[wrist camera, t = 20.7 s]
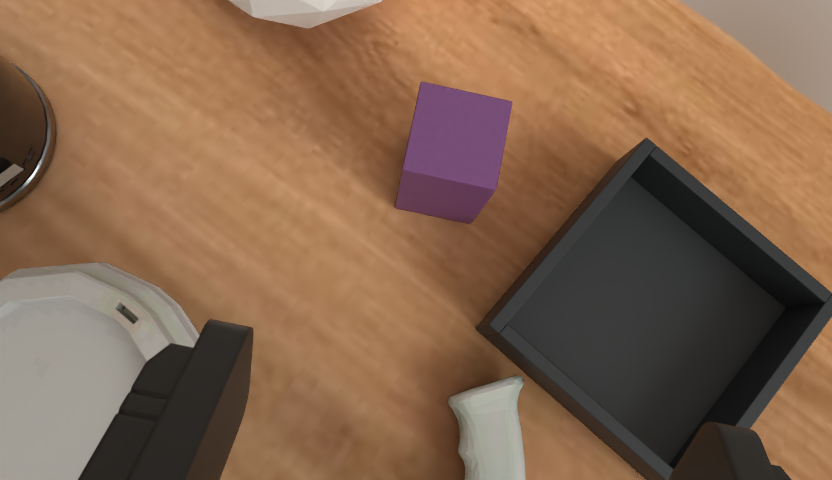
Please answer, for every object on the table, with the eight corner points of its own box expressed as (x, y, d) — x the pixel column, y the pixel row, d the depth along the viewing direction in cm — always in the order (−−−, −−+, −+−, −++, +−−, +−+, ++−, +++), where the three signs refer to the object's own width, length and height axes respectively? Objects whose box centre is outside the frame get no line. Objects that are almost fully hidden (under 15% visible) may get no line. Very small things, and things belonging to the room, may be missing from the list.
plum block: (470, 224, 40) (496, 190, 32) (394, 208, 40) (402, 170, 32) (484, 151, 41) (512, 101, 33) (410, 135, 41) (421, 80, 33)
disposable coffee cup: (172, 542, 36) (38, 665, 21) (19, 408, 37) (-213, 437, 22) (307, 381, 38) (270, 392, 23) (160, 256, 39) (33, 189, 24)
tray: (474, 328, 39) (488, 324, 35) (618, 159, 42) (646, 137, 37) (658, 490, 38) (694, 505, 34) (793, 308, 41) (843, 301, 37)
